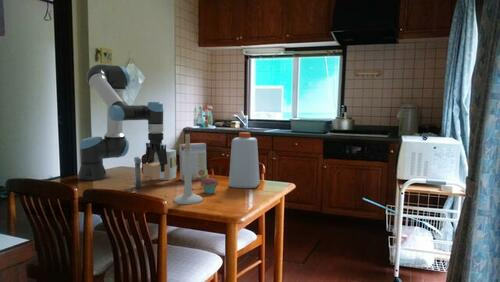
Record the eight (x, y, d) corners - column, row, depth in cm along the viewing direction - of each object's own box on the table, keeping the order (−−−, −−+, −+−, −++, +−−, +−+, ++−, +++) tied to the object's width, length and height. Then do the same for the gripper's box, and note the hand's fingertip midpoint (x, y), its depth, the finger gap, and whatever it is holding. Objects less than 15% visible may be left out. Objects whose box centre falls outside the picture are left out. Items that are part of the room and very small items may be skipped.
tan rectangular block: (140, 178, 187) (140, 164, 186) (159, 174, 196) (159, 161, 195) (149, 180, 182) (149, 166, 181) (169, 176, 191) (169, 163, 190)
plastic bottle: (233, 181, 205) (233, 131, 202) (260, 183, 202) (261, 131, 199) (227, 187, 190) (227, 133, 187) (256, 189, 187) (256, 134, 185)
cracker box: (203, 178, 214) (203, 142, 212) (206, 180, 208) (206, 143, 206) (179, 180, 208) (179, 143, 206) (182, 182, 202) (181, 144, 200)
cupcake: (210, 195, 174) (210, 170, 173) (196, 192, 179) (196, 168, 178) (221, 191, 182) (221, 167, 180) (207, 189, 186) (207, 165, 185)
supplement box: (169, 182, 204) (169, 151, 202) (154, 181, 205) (153, 151, 204) (176, 178, 213) (176, 149, 211) (161, 177, 215) (161, 149, 213)
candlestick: (200, 196, 172) (199, 132, 170) (204, 203, 160) (204, 134, 157) (172, 198, 169) (171, 132, 166) (174, 205, 157) (173, 134, 154)
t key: (136, 190, 177) (136, 159, 176) (134, 186, 186) (133, 156, 185) (142, 190, 178) (141, 159, 177) (139, 186, 187) (138, 156, 186)
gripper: (137, 131, 191) (138, 175, 193) (162, 134, 178) (163, 180, 180) (149, 130, 197) (150, 173, 199) (174, 133, 184) (175, 178, 186)
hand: (156, 176), depth 190 cm, fingers closed on tan rectangular block, 8 cm apart
